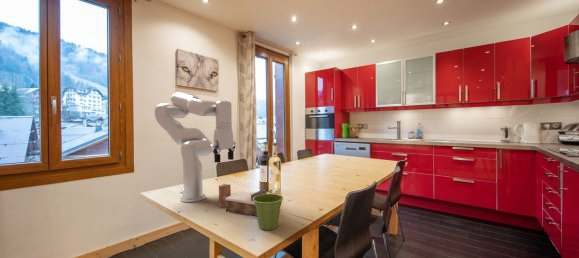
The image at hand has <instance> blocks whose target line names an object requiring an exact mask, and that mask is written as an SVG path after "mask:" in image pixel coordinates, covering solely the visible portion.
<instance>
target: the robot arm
mask: <svg viewBox="0 0 579 258" xmlns="http://www.w3.org/2000/svg"><path fill="white" fill-rule="evenodd" d="M170 102H171V103H167V102H166V103H165V102H164V103H159V104H158V105H156V106H155V107H154V117H155V121H156V122H157V123H158V125H159V126H160V127H161V128H162V129H163V130H164V131H166V132H167V134H168V135H169V137H171V139H172V140H173V141H174V142H175V143H176V145H179V146H180V154H181V158H182V167H183V168H182V170H183V173H182V174H183V176H182V177H183V189H182V190H181V191H179V194H182V196H181V197H180V201H181V202H183V203H193V202H194V203H195V202H199V201H202V200H205V199H206V197H207V195H206V194H205V193H204V192H203V191H204V190H203V165H202V162H201V160H200V158H202V157H203V158H204V157H208V156H210V155H212V154H213V157H214V158H213V159H214V163H219V164H220V163H221V154H220V153H221V152H222V150H223V151H224V150H227V151H228V152H227V160H231V161H233V160H234V158H235V157H234V153H235V148H236V146H237V142H236V141H235V140H234V133H233V127H232V125H233V123H232V122H233V119H232V117H233V116H232V114H233V113H232V110H233V109H232V103H231V102H230V101H228V100H218V101H213V100H202V99H200V98H199V97H198V96H196V94H194V93H188V92H175V93H173V94H172V95H171V98H170ZM189 114H193V115H197V116H201V117H215V129H214V131H213V140H212V142H213V143H212V142H211V140H210V139H209V137H207V136H206V135H205V134H204V133H203V131H202V130H200V129H199V128H196V127H185V126H183V125H182V123H181V122H180V121H179V120H177V119H184V118H186V117H188V115H189Z"/></svg>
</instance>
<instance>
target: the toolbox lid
mask: <svg viewBox="0 0 579 258" xmlns="http://www.w3.org/2000/svg"><path fill="white" fill-rule="evenodd" d="M262 194H268V192H267V189H263V188H262V189H260V190H258V191H250V190H249V191H247V190H241V191H239V192H235V194H231V196H229V197H227V198H226V200H228V201H235V202H241V203H247V204H254V205H255V203H254V201H253V198H254V197H255V196H258V195H262Z"/></svg>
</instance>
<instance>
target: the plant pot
mask: <svg viewBox="0 0 579 258" xmlns="http://www.w3.org/2000/svg"><path fill="white" fill-rule="evenodd" d="M283 200H284V196H282V195H281V194H276V193H267V194H262V195H258V196H255V197H254V198H253V201H254V203H255V206H256V211H257V217H256V218H257V222H258V227H259V228H260V229H261V230H266V231H271V230H275V229H276V228H277V227H278V225H279V218H280V213H281V212H280V211H281V206H282V203H283Z"/></svg>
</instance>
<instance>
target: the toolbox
mask: <svg viewBox="0 0 579 258" xmlns="http://www.w3.org/2000/svg"><path fill="white" fill-rule="evenodd" d="M225 212H227V213H233V214H238V215H243V216H249V217H254V218H258V217H257V211H256V206H255V205H254V204H247V203H241V202H235V201H228V200H226V207H225Z"/></svg>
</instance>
